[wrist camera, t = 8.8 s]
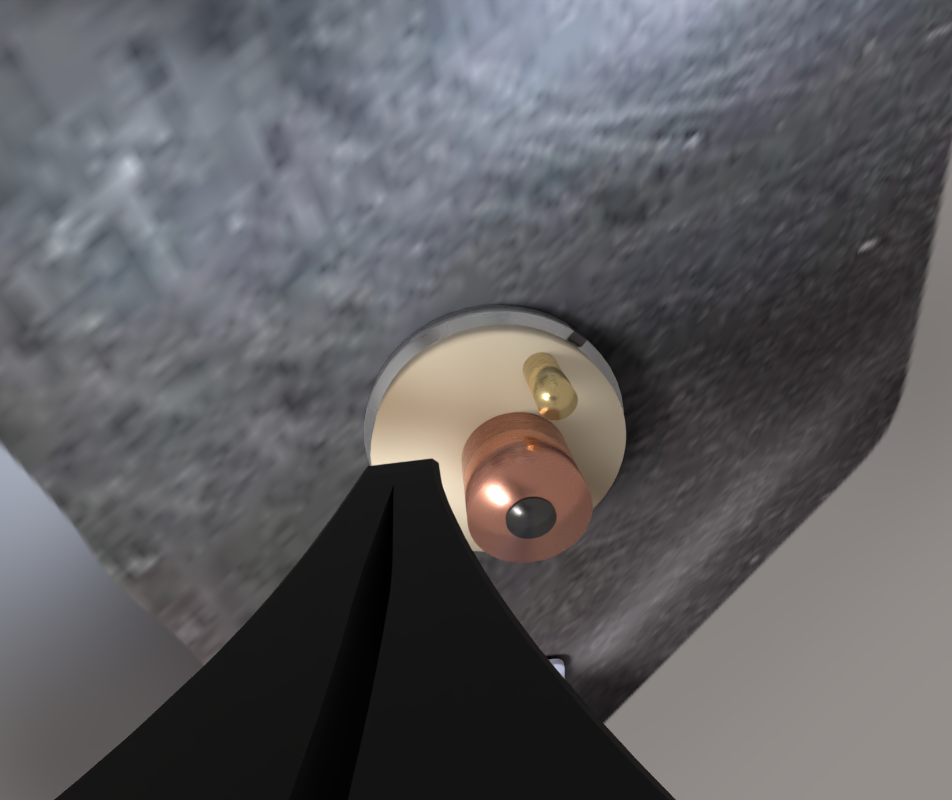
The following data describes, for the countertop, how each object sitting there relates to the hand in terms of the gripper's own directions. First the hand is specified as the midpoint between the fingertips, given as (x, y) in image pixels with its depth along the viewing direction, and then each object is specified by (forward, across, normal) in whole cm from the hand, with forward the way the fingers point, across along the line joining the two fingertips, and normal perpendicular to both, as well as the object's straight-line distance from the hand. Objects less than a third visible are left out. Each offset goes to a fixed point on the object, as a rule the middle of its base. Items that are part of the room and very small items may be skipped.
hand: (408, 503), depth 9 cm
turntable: (+8, -2, +4) cm, 10 cm away
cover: (+7, -3, +4) cm, 9 cm away
